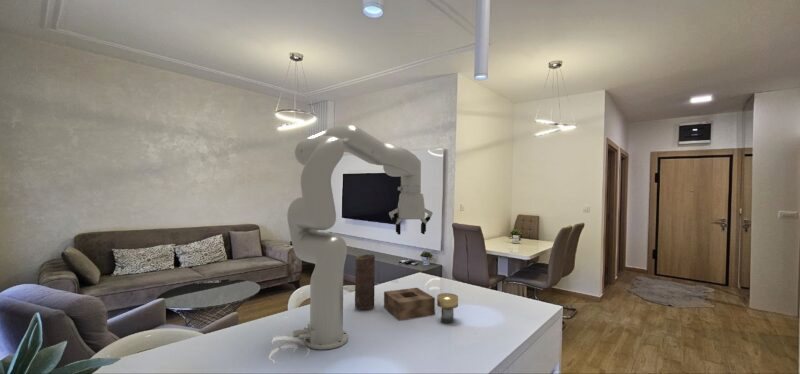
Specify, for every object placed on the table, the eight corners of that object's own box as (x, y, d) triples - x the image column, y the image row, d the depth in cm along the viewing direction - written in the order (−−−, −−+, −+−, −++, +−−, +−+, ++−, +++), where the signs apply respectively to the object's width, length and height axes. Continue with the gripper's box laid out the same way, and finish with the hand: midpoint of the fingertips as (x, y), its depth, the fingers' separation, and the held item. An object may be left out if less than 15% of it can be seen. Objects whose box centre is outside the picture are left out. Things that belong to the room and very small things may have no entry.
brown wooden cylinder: (373, 312, 126) (373, 257, 127) (353, 311, 127) (353, 256, 127) (375, 305, 134) (375, 253, 134) (356, 304, 134) (356, 253, 134)
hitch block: (398, 320, 119) (399, 302, 119) (383, 307, 131) (384, 291, 131) (434, 314, 124) (434, 297, 124) (417, 302, 137) (417, 287, 137)
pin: (443, 326, 114) (444, 300, 114) (433, 319, 120) (433, 294, 120) (461, 323, 117) (462, 297, 117) (450, 316, 123) (450, 292, 123)
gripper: (390, 190, 130) (390, 235, 130) (435, 190, 133) (435, 234, 133) (387, 189, 137) (387, 233, 137) (429, 190, 141) (429, 232, 141)
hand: (410, 233), depth 135 cm, fingers open, 9 cm apart
